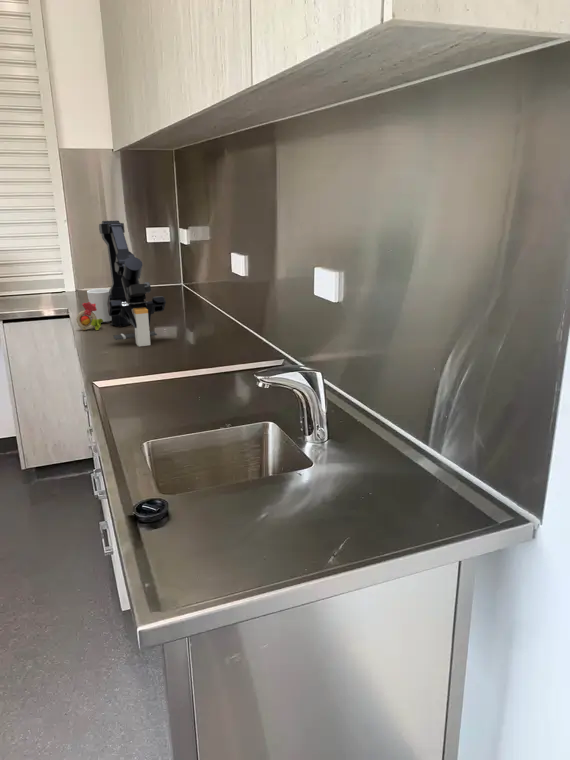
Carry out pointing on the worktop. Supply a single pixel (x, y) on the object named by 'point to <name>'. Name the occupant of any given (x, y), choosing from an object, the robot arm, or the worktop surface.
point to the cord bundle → (130, 335)
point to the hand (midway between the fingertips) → (142, 326)
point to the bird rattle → (85, 319)
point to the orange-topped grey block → (141, 326)
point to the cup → (100, 303)
